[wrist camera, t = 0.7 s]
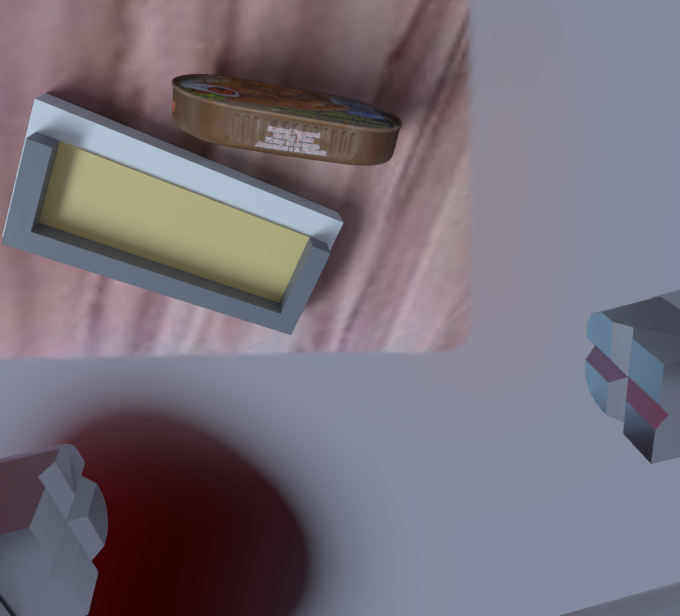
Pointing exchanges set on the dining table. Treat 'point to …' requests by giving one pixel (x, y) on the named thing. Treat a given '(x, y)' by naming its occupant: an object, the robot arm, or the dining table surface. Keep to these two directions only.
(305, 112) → the tin
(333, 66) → the dining table surface
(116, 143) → the dock
